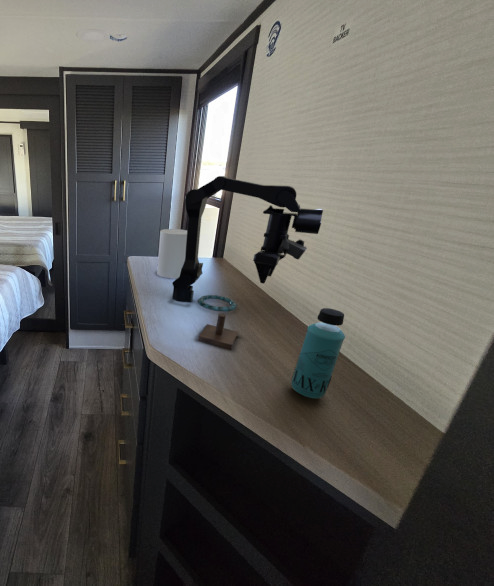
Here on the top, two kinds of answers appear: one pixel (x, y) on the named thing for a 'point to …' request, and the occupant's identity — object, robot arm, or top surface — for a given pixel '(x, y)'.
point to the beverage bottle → (319, 354)
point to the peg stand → (218, 334)
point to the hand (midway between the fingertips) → (265, 279)
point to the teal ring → (229, 308)
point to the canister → (171, 252)
